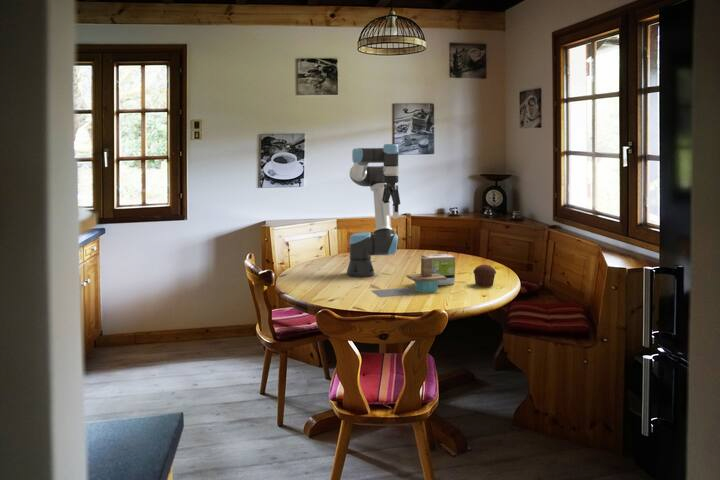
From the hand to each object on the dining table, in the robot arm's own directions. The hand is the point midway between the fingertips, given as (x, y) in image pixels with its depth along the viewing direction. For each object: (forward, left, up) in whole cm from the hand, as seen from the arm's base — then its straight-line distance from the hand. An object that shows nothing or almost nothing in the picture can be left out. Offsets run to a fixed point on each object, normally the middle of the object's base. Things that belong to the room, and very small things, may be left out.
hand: (391, 217), depth 306 cm
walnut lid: (+19, +11, -29) cm, 36 cm away
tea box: (+7, +23, -35) cm, 42 cm away
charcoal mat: (+19, -5, -35) cm, 40 cm away
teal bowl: (+19, +11, -35) cm, 41 cm away
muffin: (+17, +44, -35) cm, 59 cm away
